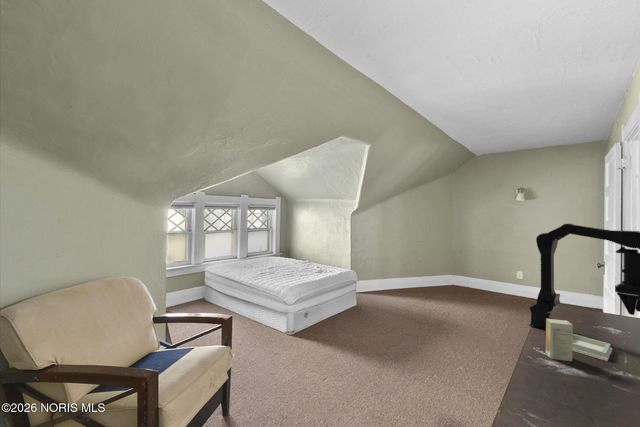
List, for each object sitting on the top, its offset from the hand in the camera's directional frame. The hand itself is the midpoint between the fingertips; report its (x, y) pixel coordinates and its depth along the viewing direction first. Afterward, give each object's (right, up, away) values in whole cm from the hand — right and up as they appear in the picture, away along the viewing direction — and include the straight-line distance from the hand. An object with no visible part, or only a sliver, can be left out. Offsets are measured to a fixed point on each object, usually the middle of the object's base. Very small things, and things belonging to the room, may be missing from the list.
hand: (635, 313), depth 102 cm
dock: (-13, -14, +4) cm, 20 cm away
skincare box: (-29, -14, -2) cm, 32 cm away
